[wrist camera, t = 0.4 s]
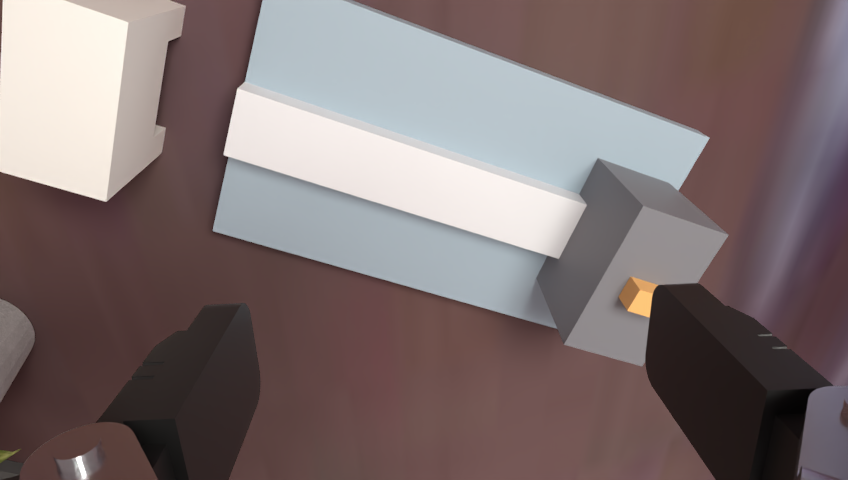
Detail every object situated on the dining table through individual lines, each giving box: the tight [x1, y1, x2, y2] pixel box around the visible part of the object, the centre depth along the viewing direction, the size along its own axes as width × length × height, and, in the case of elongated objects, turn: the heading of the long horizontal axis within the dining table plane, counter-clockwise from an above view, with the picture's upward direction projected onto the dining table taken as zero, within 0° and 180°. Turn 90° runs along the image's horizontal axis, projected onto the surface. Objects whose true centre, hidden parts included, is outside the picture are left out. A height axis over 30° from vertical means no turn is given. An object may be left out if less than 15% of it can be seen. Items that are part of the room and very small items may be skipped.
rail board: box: [213, 0, 728, 366], centre depth 29 cm, size 14×24×9 cm, turn 70°
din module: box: [0, 0, 186, 202], centre depth 27 cm, size 8×4×7 cm, turn 160°
